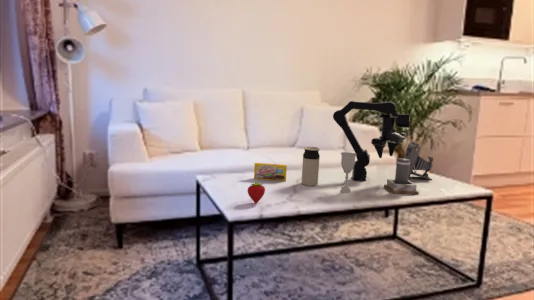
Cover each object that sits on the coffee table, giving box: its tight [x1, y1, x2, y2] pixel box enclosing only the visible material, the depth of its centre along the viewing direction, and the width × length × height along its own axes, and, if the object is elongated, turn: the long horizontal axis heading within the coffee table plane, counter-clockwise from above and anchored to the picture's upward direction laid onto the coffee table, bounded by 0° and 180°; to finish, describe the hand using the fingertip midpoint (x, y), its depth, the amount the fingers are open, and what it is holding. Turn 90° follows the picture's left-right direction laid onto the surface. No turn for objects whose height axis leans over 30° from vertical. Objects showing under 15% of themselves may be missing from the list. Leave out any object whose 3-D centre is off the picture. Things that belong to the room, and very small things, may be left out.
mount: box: [383, 178, 420, 195], centre depth 206 cm, size 12×12×4 cm
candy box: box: [253, 162, 288, 182], centre depth 216 cm, size 16×2×8 cm, turn 83°
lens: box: [394, 157, 410, 184], centre depth 205 cm, size 6×6×14 cm
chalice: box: [339, 151, 357, 194], centre depth 199 cm, size 7×7×18 cm
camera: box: [403, 140, 434, 181], centre depth 234 cm, size 11×17×20 cm, turn 86°
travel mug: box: [301, 146, 320, 187], centre depth 209 cm, size 8×8×18 cm
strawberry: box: [247, 179, 266, 204], centre depth 176 cm, size 6×8×10 cm
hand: (385, 157), depth 220 cm, fingers open, 9 cm apart
